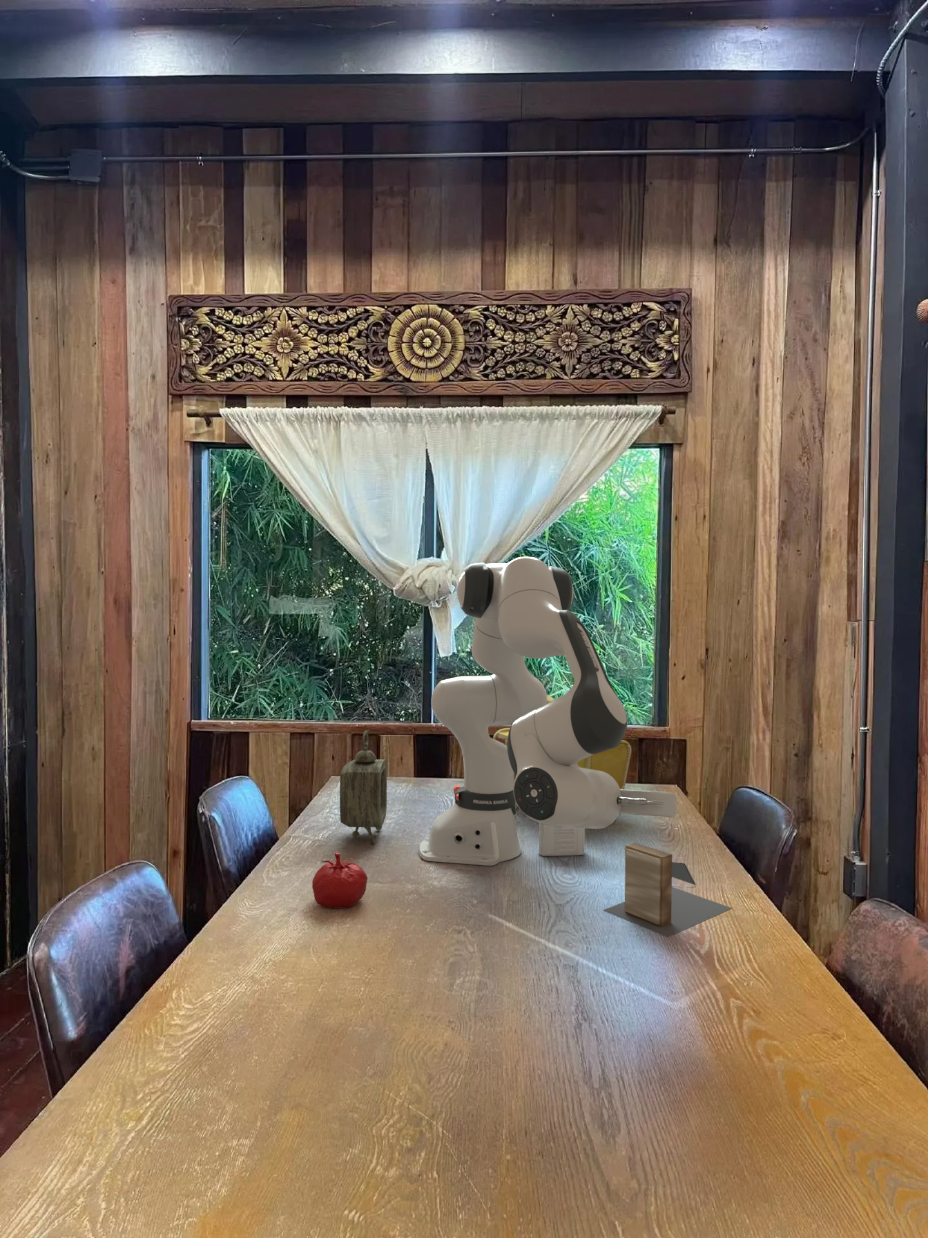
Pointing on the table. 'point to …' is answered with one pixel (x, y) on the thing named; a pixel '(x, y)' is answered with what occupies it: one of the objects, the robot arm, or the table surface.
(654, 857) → the wooden block
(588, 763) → the picnic basket
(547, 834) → the photo printer
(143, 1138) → the table surface
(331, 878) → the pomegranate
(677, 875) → the smartphone
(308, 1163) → the table surface
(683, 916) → the mat
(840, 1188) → the table surface
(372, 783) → the tabletop clock
